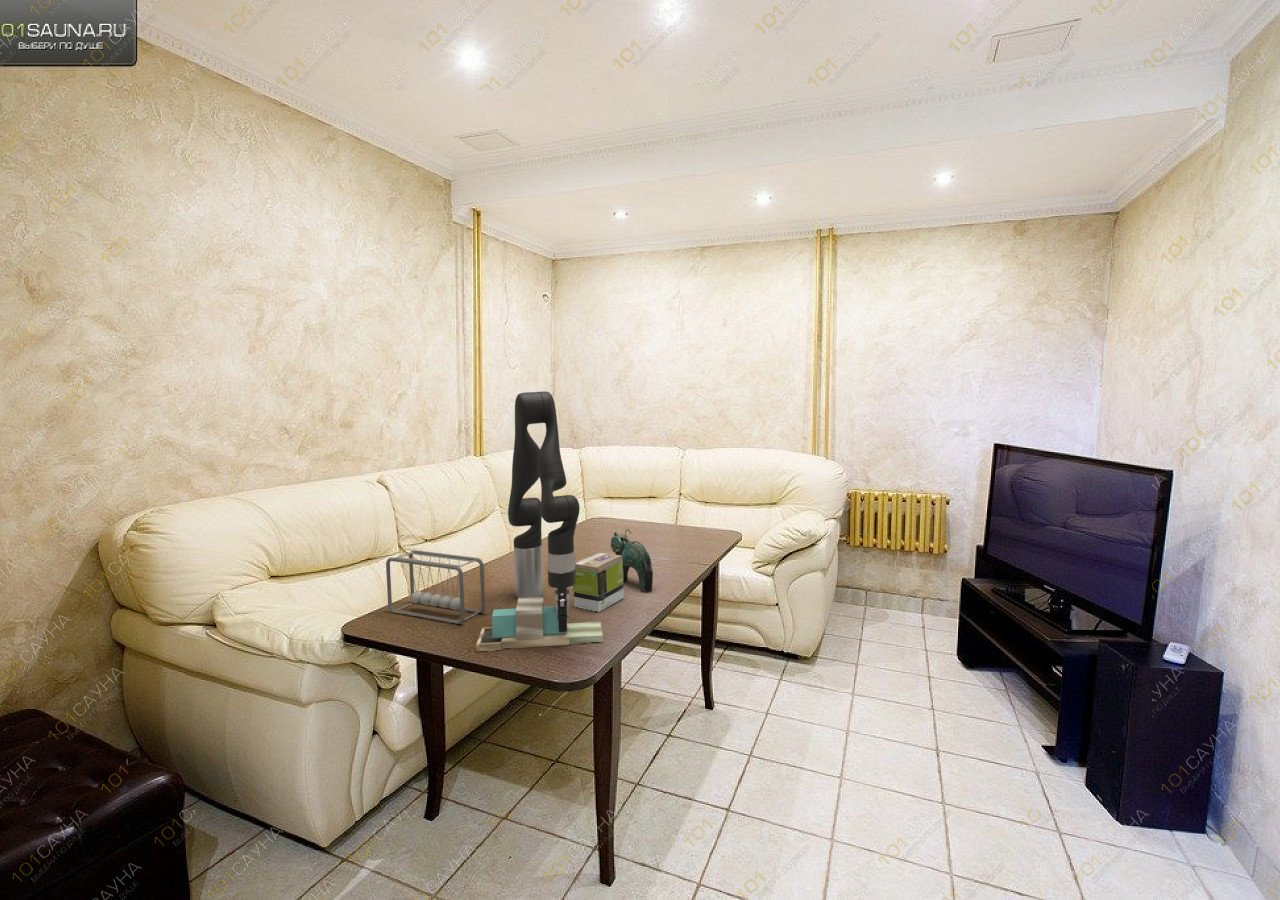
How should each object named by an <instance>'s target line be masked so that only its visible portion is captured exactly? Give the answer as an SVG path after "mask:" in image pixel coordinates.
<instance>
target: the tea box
mask: <svg viewBox="0 0 1280 900" xmlns="http://www.w3.org/2000/svg"><path fill="white" fill-rule="evenodd" d="M575 581H576V582H575V584H574V585H573V586H572V587H573V603H574V604H573V607H574V608H576V607H578V608H577V609H580V608H583V609H582V610H585V609H588V610H587V611H590V610H592V611H591V612H595V611H597V612H596V613H600V612H601V611H604V610H605V609H608V607H610V606H611V605H612V606H613V604H616V603H618V602H619V601H621V600H623V599H624V598H625V586H624V583H625V582H623V558H622V556H621V555H616V554H611V553H603V552H596V553H594V554H592V555H589V556H587V557H584V558H583V559H580V560H578V561H575Z"/></svg>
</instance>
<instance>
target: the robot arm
mask: <svg viewBox="0 0 1280 900" xmlns="http://www.w3.org/2000/svg"><path fill="white" fill-rule="evenodd" d="M556 410H557V409H556V403H555V400H554V398H553V395H552V394H551V392H549V391H532V392H529V391H527V392H526V391H525V392H520V393H518V394H517V395H516V397H515V401H514V443H513V444H514V446H513V455H512V462H511V463H512V465H511V466H512V467H511V488H510V495H509V501H508V507H507V508H508V509H507V519H508V522H509V524H510V525H511V526H512V527H529V528H528V530H526V531H524V532H523V533H520V534H518V535H516V536H515V537H514V538H513V560H514V561H513V566H514V595H515V596H514V597H515V598H516V599H518V598H533V597H543V595H544V588H543V587H544V582H543V581H544V580H543V574H544V573H543V551H542V550H543V547H542V546H543V544H542V542H543V541H542V539H543V538H542V535H543V534H542V523H543V522H542V519H543V521H545V522H546V523H548V524H553V523H562V524H561V525H560V526H559V527H558V528H556V529H553V530H551V531H550V532H548V534H547V585H548V587H551V588H552V589H555V590H554V599H555V606H556V610H558V616H557V618H558V619H559V632H566V631H567V623H568V610H569V607H570V605H569V604H570V603H569V599H570V589H568V588H571V587H573V585H574V584H575V582H576V581H575V562H576V557H575V547H574V545H575V542H574V541H575V540H574V536H575V532H576V527H577V524H578V523H577V522H578V519H579V515H580V509H581V508H580V503H579V500H578V499H577V497H576V496H575V495H572V494H566V495H556V496H555V495H554V492H556V491H559V490H561V489H563V488H565V486H566V485H567V477H566V474H565V469H564V464H563V459H562V455H561V448H560V437H559V427H558V418H557V411H556ZM533 424H534V425H536V424H545V437H544V439H543V442H542V444H541V447H539V445H538V444H537V443H536V441H535V440H534V439H533V437H532V436H531V434H530V433H529V430H528V426H529V425H533ZM538 480H540V487H541V488H540V489H541V491H540V492H541V495H540V499H539V498H538V497H524V496H525V495H526V493H527V492H528V491H529V490H530V489H531V488H532V487H533V486H534V485H535V484H536V483H537V482H538ZM560 612H565V614H560Z"/></svg>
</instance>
